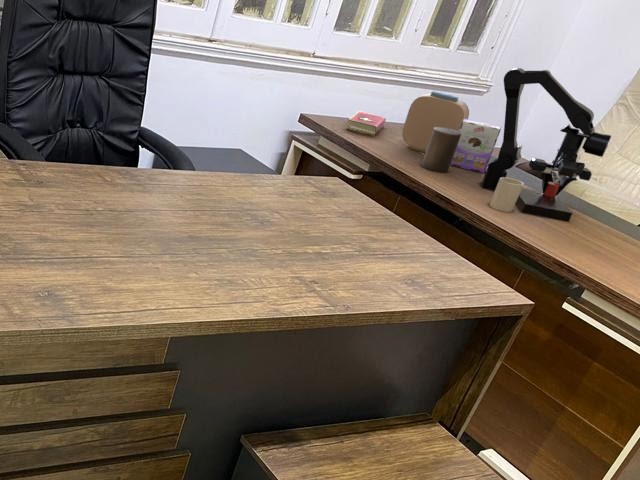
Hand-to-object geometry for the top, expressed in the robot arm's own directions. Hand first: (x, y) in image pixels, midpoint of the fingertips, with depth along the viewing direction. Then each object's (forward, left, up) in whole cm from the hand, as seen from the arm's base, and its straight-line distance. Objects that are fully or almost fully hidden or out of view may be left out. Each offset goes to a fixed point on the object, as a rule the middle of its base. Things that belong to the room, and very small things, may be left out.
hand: (549, 193), depth 268 cm
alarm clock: (-35, +44, -4) cm, 57 cm away
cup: (-18, -16, -4) cm, 24 cm away
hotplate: (-4, -7, -4) cm, 8 cm away
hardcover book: (-58, +63, -4) cm, 86 cm away
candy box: (-22, +29, -4) cm, 37 cm away
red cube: (0, 0, 0) cm, 0 cm away
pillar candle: (-35, +19, -4) cm, 40 cm away
